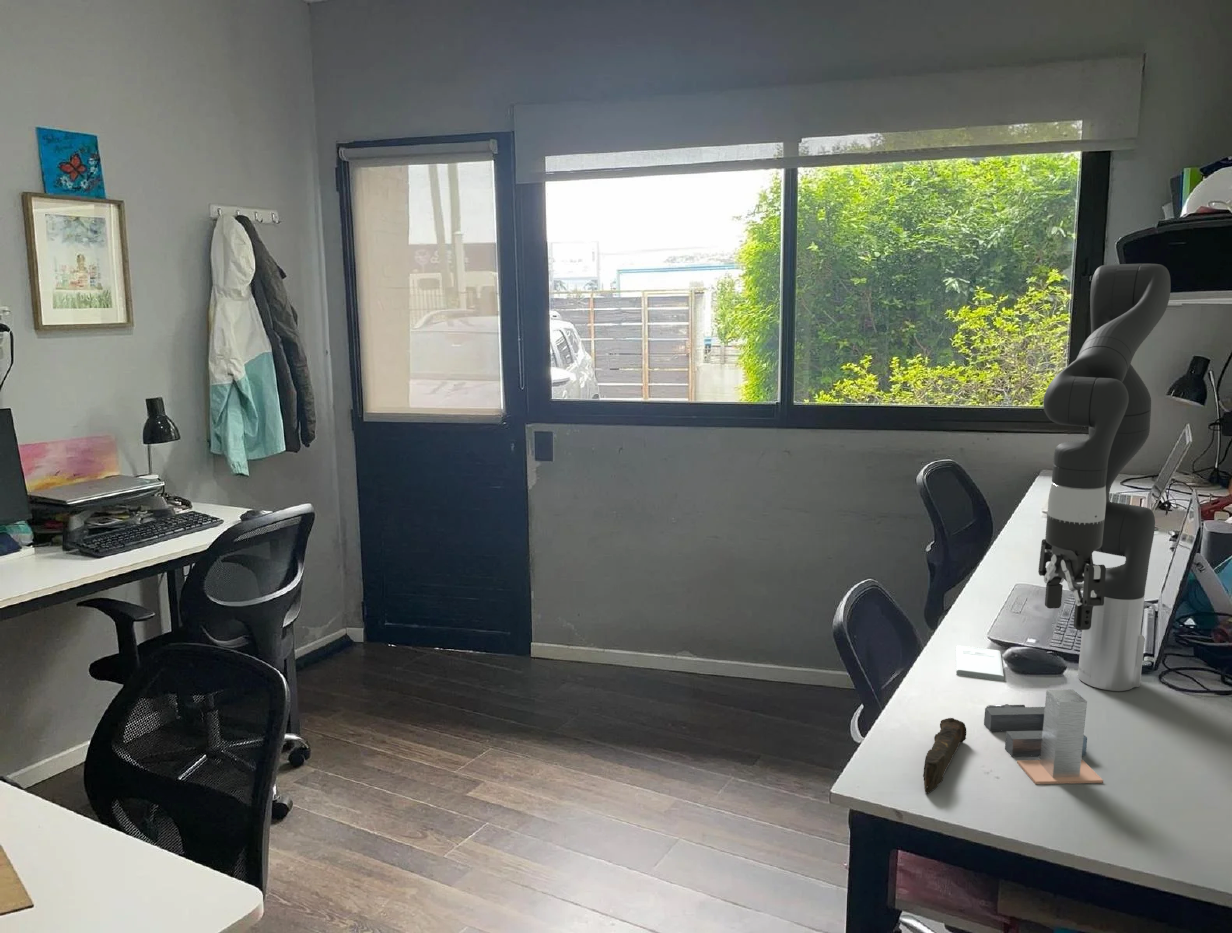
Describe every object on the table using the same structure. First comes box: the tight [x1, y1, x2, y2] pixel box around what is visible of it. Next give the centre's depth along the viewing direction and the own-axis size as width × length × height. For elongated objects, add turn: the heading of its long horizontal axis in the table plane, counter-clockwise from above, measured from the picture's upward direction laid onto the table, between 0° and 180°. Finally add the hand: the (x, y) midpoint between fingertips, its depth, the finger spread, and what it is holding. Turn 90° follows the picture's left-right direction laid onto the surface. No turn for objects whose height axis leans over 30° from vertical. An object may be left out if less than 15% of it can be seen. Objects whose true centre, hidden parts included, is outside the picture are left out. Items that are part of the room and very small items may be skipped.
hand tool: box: [922, 717, 967, 794], centre depth 140 cm, size 19×4×5 cm, turn 147°
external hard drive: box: [955, 645, 1005, 681], centre depth 176 cm, size 2×8×12 cm
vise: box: [983, 703, 1088, 758], centre depth 149 cm, size 12×14×3 cm
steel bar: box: [1039, 689, 1088, 778], centre depth 136 cm, size 4×4×12 cm
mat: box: [1016, 758, 1104, 785], centre depth 137 cm, size 10×6×1 cm, turn 91°
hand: (1066, 617), depth 137 cm, fingers open, 8 cm apart
